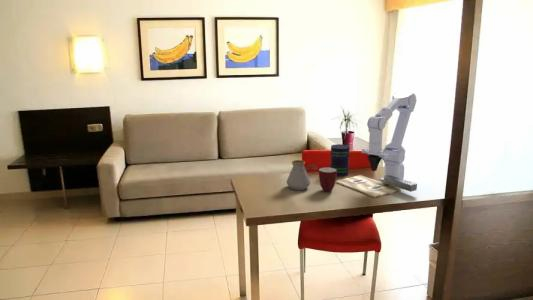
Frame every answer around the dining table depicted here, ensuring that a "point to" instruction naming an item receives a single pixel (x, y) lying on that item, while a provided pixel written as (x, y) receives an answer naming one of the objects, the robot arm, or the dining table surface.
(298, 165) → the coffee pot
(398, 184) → the grey square pillar
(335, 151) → the storage jar
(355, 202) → the dining table surface
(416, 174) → the dining table surface
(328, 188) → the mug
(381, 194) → the label board
